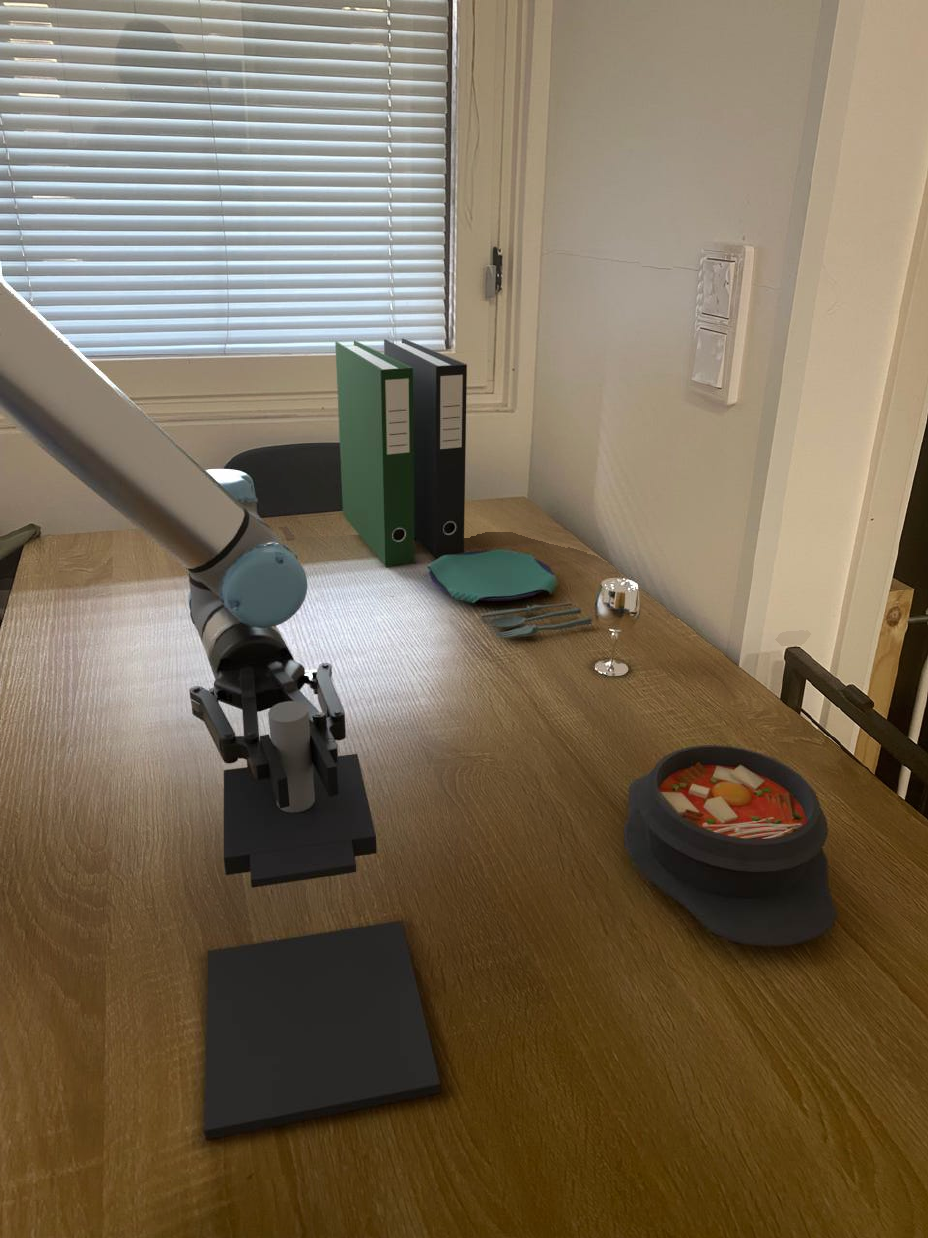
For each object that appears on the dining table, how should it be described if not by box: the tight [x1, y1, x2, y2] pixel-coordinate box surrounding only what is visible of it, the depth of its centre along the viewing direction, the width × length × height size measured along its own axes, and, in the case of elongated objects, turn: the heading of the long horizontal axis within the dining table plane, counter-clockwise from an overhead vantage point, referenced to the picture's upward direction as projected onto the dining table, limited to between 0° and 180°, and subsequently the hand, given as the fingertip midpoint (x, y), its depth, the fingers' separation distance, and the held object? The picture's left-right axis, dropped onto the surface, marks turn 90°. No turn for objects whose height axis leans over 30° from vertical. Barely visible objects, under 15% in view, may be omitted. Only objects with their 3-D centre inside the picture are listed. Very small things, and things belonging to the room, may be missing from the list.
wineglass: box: [594, 577, 641, 677], centre depth 118 cm, size 6×6×12 cm
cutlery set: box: [427, 548, 593, 639], centre depth 140 cm, size 20×30×2 cm, turn 19°
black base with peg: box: [223, 701, 378, 889], centre depth 75 cm, size 12×15×11 cm
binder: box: [335, 338, 468, 568], centre depth 157 cm, size 27×15×32 cm, turn 23°
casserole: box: [623, 744, 838, 947], centre depth 84 cm, size 25×19×8 cm
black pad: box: [203, 919, 441, 1141], centre depth 69 cm, size 16×16×1 cm
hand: (308, 787), depth 71 cm, fingers closed on black base with peg, 3 cm apart
